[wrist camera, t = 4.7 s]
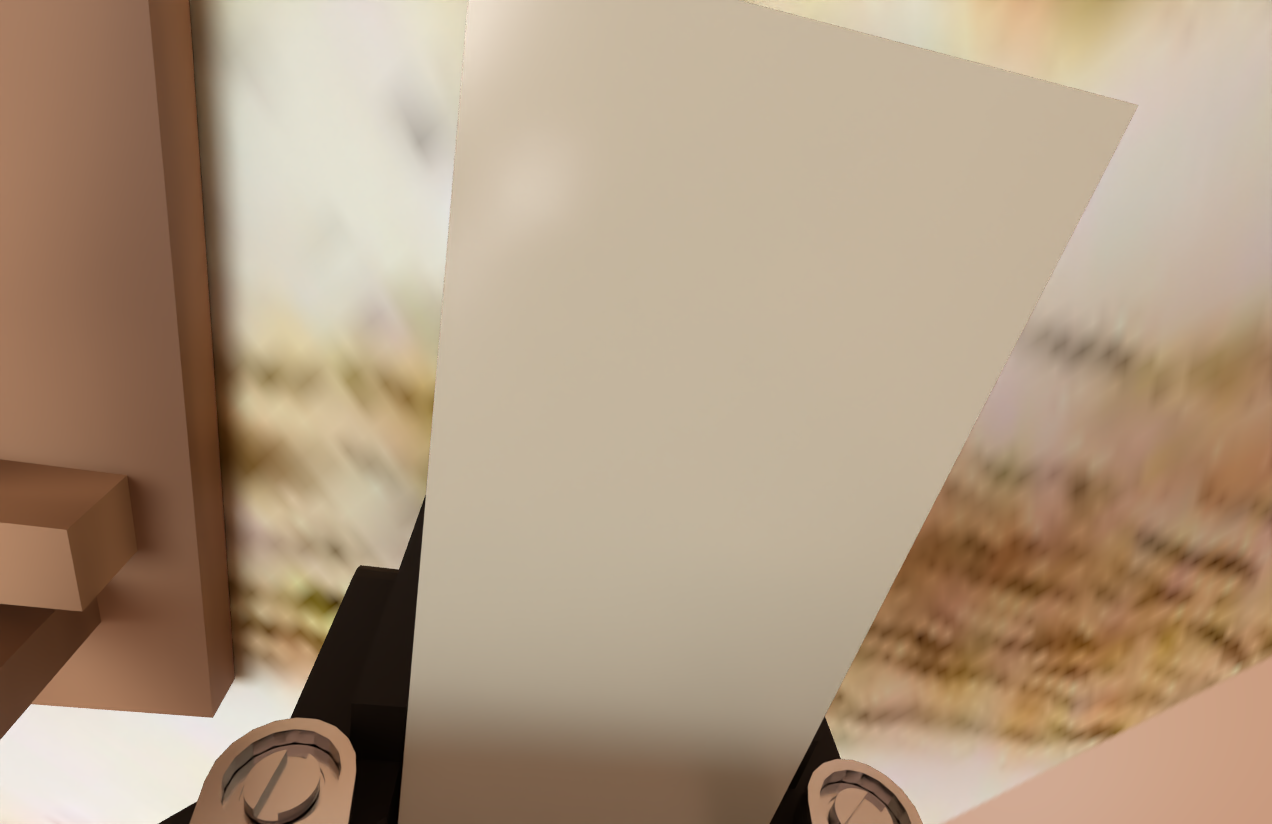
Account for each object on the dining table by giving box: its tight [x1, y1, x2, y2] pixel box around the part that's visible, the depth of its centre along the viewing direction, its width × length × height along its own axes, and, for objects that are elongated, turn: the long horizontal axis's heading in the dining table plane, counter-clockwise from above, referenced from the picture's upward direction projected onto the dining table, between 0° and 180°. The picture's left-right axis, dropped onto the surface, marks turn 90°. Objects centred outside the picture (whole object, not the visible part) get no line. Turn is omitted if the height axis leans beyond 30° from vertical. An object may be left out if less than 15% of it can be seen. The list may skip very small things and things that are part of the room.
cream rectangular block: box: [398, 0, 1138, 824], centre depth 10 cm, size 16×4×7 cm, turn 168°
